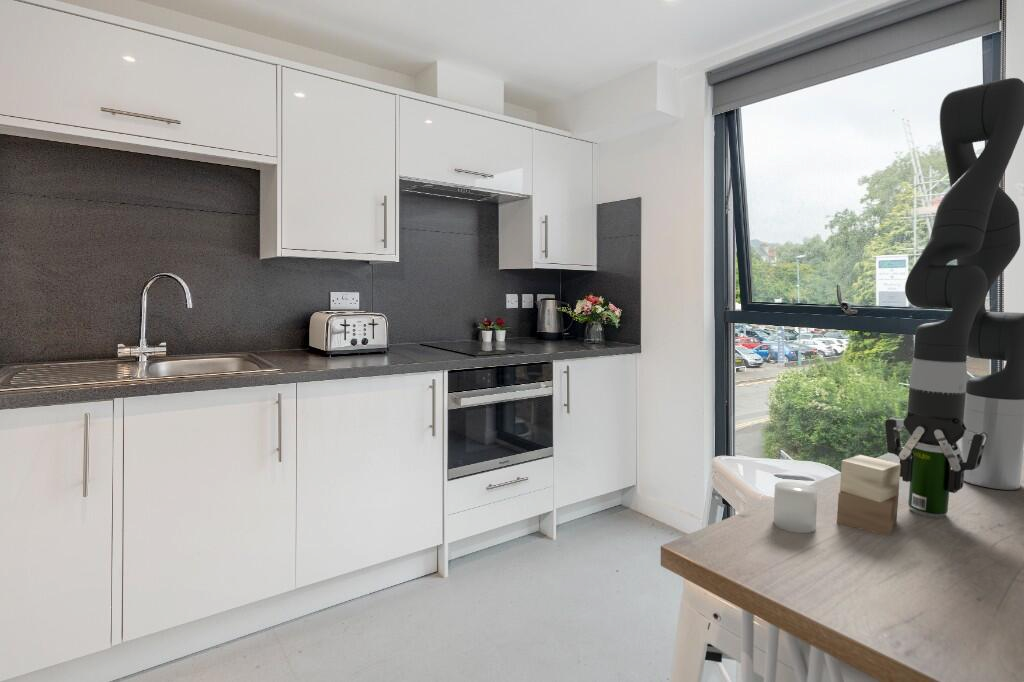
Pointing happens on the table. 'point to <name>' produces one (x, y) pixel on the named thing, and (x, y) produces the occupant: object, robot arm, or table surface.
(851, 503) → the base block
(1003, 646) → the table surface
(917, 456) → the guarana soda can
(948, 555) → the table surface
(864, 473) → the top block
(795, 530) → the white rounded cylinder
